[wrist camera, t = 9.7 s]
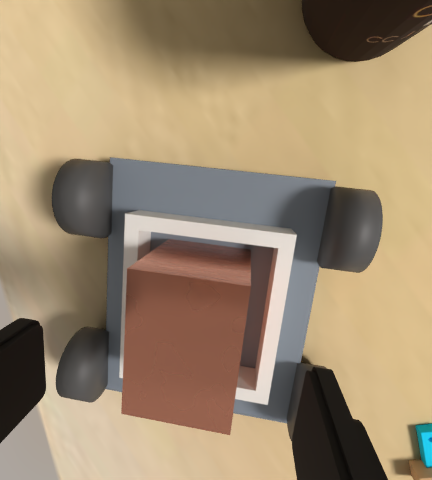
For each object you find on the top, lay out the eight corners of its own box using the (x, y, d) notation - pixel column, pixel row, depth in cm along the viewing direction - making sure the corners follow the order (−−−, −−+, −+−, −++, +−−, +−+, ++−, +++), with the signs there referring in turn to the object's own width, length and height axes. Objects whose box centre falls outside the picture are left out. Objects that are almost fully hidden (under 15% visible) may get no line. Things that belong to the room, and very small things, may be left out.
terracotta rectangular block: (169, 238, 17) (127, 268, 11) (250, 249, 17) (251, 286, 11) (162, 340, 19) (121, 413, 13) (236, 353, 18) (230, 434, 12)
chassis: (98, 156, 18) (50, 149, 14) (356, 184, 17) (392, 184, 12) (95, 371, 22) (56, 417, 17) (308, 410, 20) (324, 472, 16)
